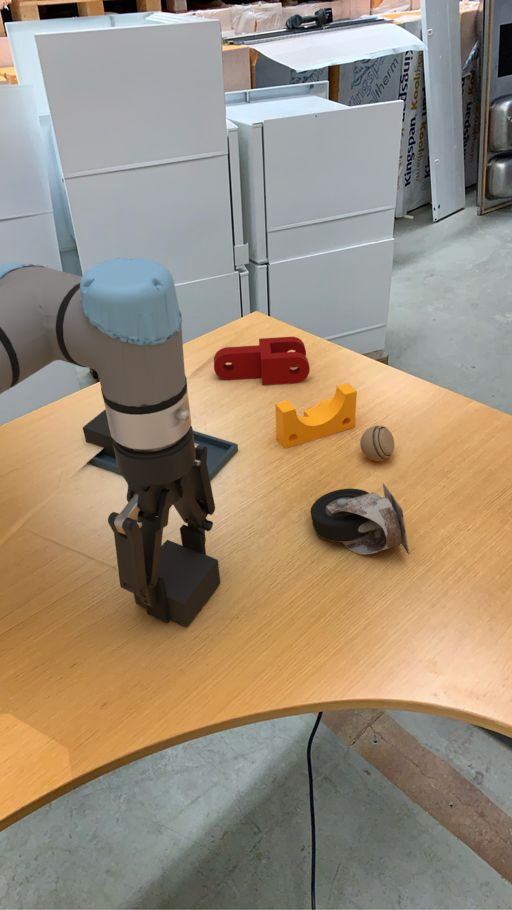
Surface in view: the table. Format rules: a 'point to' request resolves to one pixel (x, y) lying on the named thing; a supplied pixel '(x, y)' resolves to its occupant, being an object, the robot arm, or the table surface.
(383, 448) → the tan ball
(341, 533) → the caster wheel
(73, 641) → the table surface
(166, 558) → the dark rectangular block
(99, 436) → the pad
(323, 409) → the pipe clamp
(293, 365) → the mechanical linkage
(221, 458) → the dark blue tray
